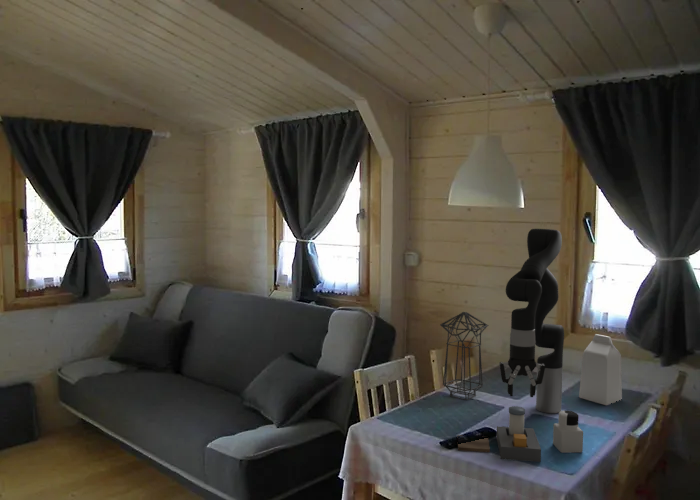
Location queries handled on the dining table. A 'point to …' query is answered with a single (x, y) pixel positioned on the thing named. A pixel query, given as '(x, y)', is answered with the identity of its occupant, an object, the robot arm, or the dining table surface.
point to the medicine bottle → (568, 433)
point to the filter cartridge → (516, 420)
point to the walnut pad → (475, 445)
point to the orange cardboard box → (519, 440)
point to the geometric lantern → (464, 352)
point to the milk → (601, 372)
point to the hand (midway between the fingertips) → (521, 395)
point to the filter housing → (518, 453)
